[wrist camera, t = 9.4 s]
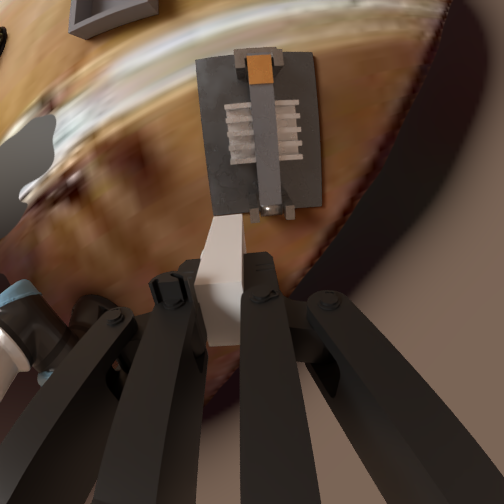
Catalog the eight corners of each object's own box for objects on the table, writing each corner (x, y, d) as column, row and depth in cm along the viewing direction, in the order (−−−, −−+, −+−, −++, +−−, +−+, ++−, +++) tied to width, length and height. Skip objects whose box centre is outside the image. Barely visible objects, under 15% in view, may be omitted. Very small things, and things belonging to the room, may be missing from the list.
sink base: (320, 204, 45) (336, 222, 37) (214, 213, 46) (207, 234, 37) (310, 54, 34) (326, 38, 26) (196, 61, 34) (184, 46, 26)
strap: (281, 212, 40) (282, 216, 38) (260, 213, 40) (261, 218, 38) (268, 54, 28) (270, 51, 27) (245, 55, 29) (246, 52, 27)
